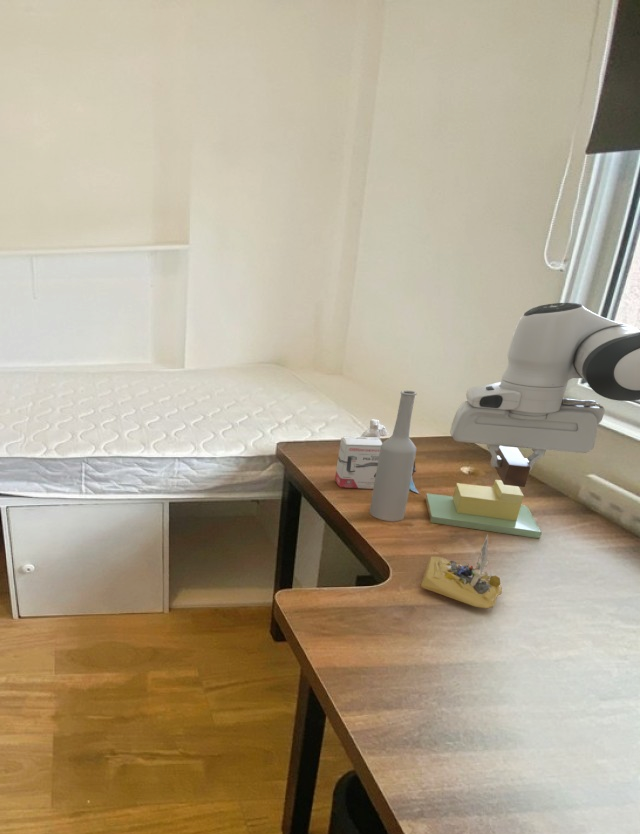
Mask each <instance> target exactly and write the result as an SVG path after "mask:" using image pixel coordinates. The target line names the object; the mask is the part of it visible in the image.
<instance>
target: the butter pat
mask: <svg viewBox="0 0 640 834" xmlns="http://www.w3.org/2000/svg"><path fill="white" fill-rule="evenodd" d="M492 487H494V490H495V492H496V494H497V496H498V498H499V500H500V501H505V502H513V503H521V505H523V500H524V494H523V492H522V490H521V487H519V486H510V485H504V484H503V482H502V480H501V479H494V483H493V486H492Z"/></svg>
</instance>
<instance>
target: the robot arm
mask: <svg viewBox="0 0 640 834" xmlns="http://www.w3.org/2000/svg"><path fill="white" fill-rule="evenodd" d="M507 360H508V361H507V367H506V368H505V371H504V372H503V374H502V375H501V379H500V381H499V382H494V383H489V384H483V385H479V386H477V385H476V386H472V387H469V388H467V390H466V394H465V395H466V400H465V401H463V402H462V403H461V404H460V405H459V407H458V408H457V410H456V412H455V414H454V417H453V419H452V423H451V426H450V431H449V433H450V436H451V438H452V439H453V440H454V441H455V442H456V443H457V442H458V443H466V444H467V443H468V444H479V445H486V447H487V449H488V451H489V453H490V455H491V457H490V458H491V459H490V463H489V464H490V466H491V468H495V467H502V463H503V458H502V456H497V455H496V453H495V451H494V450H499V446H505V447H516V448H522V449H523V448H524V449H531V450H532V453H531V454H530V455H529V456H528V457H527V458H525V460H526V461H527V463H528V464H529V466H530V471H532V470H533V468H534V464H535V463H536V462H538V461H539V460H541V458H543V457H544V456H545V455H546V451H553V452H554V451H555V452H566V453H576V454H587V453H589V452H590V451H592V450H594V448H595V445H596V441H597V433H598V424H600V423H601V422H602V420H603V419H604V415H605V407H604V406H603V405H602V404H600V403H598V402H597V401H596V400H590V399H584V400H583V399H581V400H580V399H575V398H574V399H573V398H564V397H565V393H566V389H567V386H568V383H569V381H570V380H572V379H583V380H584V381H585V382H586V383H587V384H588V386H589V388H590V389H591V390H592V391H593V392H595V393H596V394H597V395H599V396H601V397H603V398H606V399H609V400H612V401H619V402H635V401H640V328H638V327H634V326H633V325H630V324H626V323H623V322H618V321H615V320H611V319H609V318H606V317H604V316H601V315H599V314H597V313H595V312H593V311H591V310H589V309H587V308H586V307H585V306H584V305H582V304H581V303H576V302H556V303H546V304H542V305H538V306H535V307H532V308H530V309H528V310H526V311H525V312H524V313H523V314H522V315H521V317H520V318H519V320H518V322H517V323H516V326H515V329H514V331H513V334H512V337H511V340H510V343H509V348H508V352H507ZM530 471H529V472H530Z"/></svg>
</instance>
